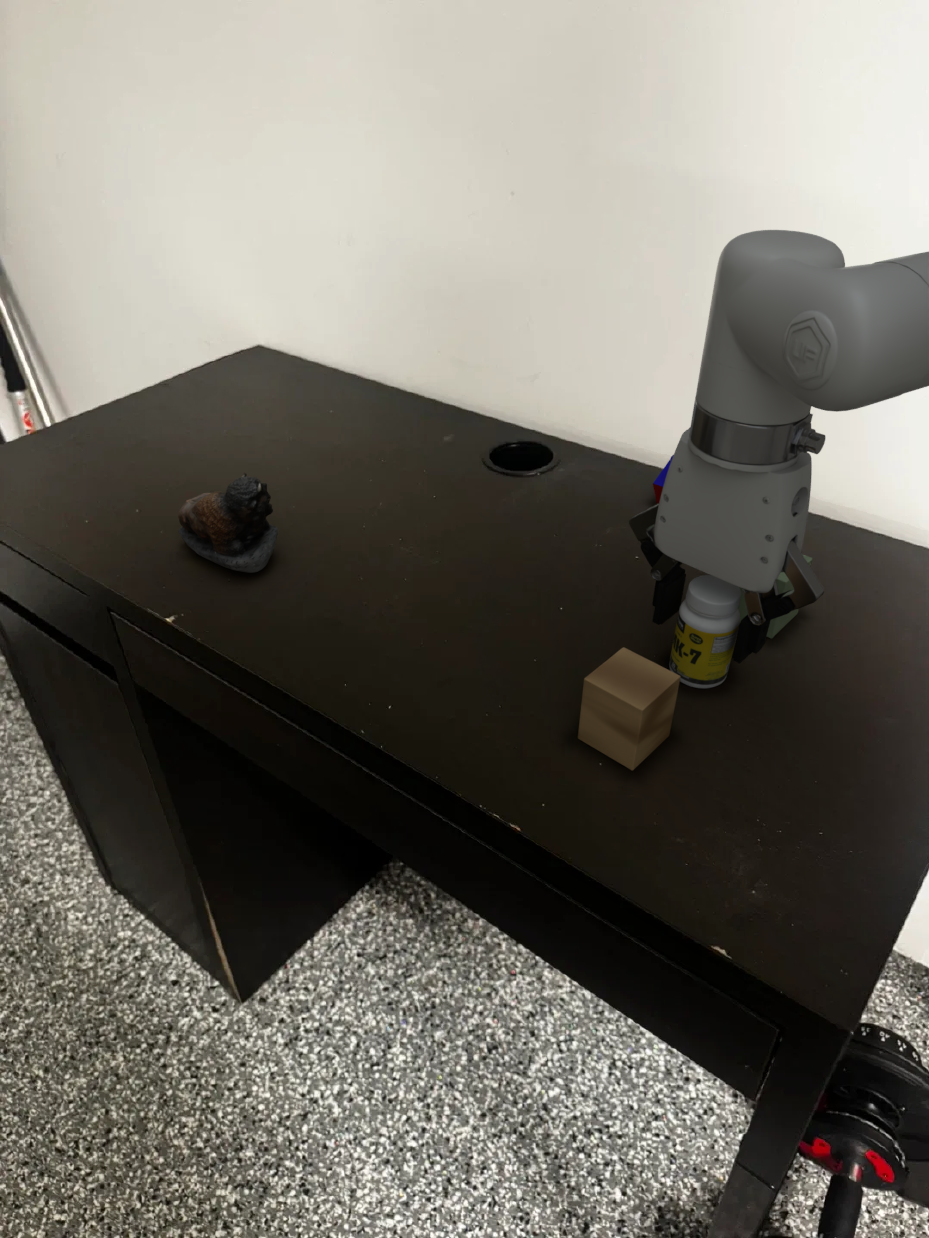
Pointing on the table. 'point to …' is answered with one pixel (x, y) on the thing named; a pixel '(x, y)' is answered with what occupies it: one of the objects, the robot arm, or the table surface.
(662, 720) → the oak block
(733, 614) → the supplement bottle
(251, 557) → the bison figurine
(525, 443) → the table surface
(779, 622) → the sage block
